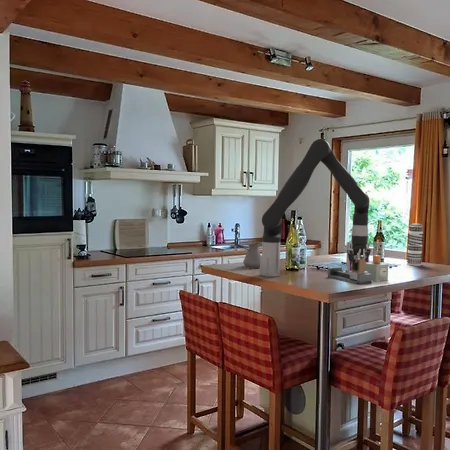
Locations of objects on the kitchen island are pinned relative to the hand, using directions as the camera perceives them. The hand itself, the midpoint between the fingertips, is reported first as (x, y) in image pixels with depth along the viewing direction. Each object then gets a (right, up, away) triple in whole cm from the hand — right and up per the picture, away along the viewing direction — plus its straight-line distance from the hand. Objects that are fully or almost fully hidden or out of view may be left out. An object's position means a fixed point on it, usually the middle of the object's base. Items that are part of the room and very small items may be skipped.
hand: (358, 269), depth 228 cm
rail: (-3, -6, +6) cm, 8 cm away
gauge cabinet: (+11, -6, +9) cm, 15 cm away
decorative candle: (+51, -3, +61) cm, 79 cm away
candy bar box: (+8, -4, +30) cm, 31 cm away
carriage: (0, -4, 0) cm, 4 cm away
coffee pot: (-52, -3, +36) cm, 63 cm away
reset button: (+11, +2, +8) cm, 14 cm away
